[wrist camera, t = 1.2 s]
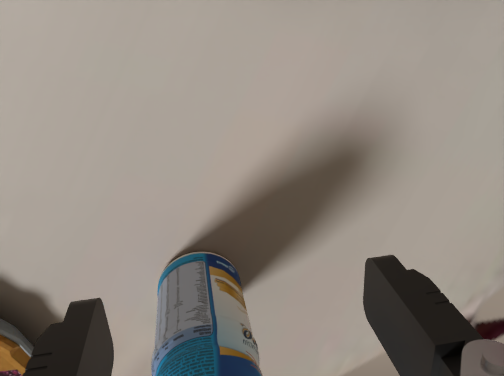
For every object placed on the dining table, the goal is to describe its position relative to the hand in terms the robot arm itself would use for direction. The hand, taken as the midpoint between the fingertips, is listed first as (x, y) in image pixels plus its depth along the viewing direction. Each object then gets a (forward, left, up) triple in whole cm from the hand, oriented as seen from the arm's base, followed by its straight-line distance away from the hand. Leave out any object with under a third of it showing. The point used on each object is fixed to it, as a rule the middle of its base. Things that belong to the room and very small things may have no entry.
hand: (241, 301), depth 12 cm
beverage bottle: (+15, -11, -26) cm, 32 cm away
